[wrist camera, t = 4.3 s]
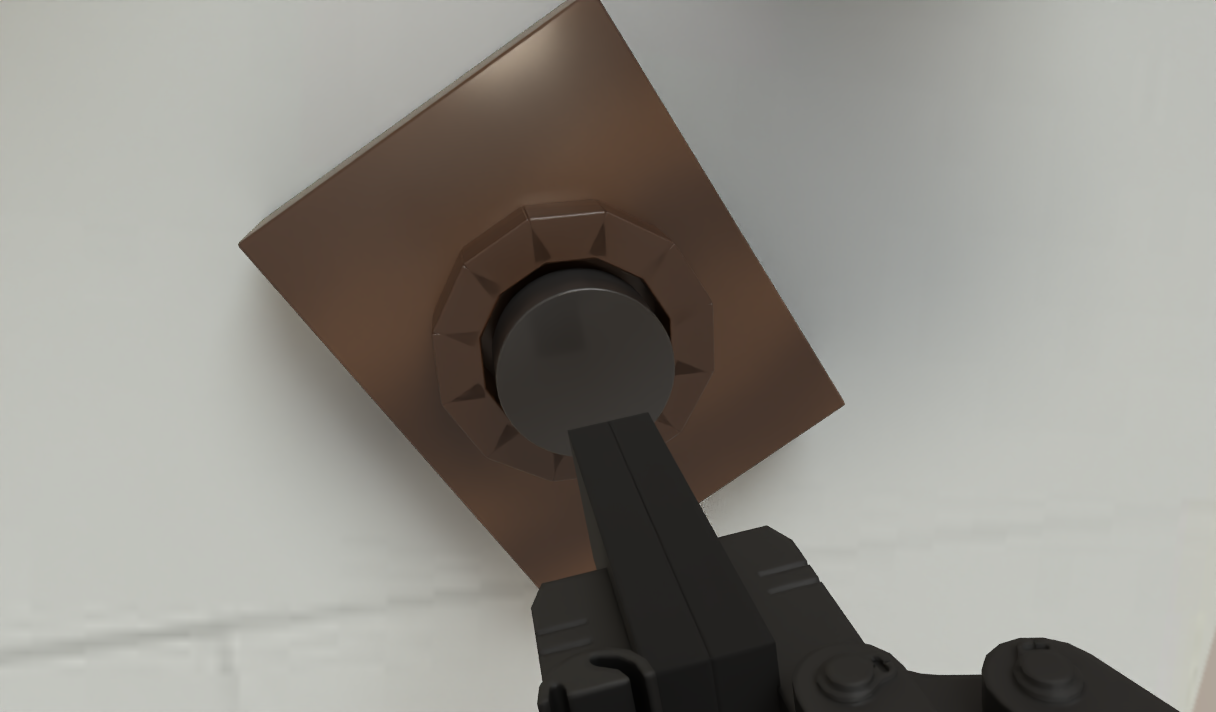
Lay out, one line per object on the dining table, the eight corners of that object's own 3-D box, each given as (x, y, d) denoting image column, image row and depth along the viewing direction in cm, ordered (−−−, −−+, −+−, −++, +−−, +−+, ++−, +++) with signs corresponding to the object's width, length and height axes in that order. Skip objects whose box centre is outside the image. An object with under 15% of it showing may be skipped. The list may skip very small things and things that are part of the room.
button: (687, 363, 24) (707, 391, 22) (555, 454, 24) (564, 489, 22) (598, 233, 22) (612, 251, 20) (457, 332, 23) (458, 359, 21)
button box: (807, 368, 30) (872, 429, 25) (541, 548, 30) (557, 640, 26) (575, -7, 25) (605, -17, 20) (261, 220, 25) (218, 261, 21)
